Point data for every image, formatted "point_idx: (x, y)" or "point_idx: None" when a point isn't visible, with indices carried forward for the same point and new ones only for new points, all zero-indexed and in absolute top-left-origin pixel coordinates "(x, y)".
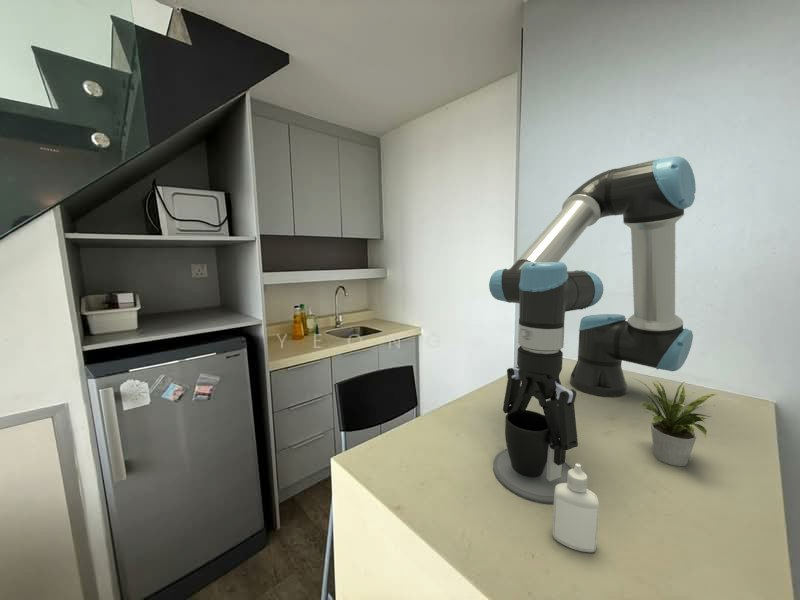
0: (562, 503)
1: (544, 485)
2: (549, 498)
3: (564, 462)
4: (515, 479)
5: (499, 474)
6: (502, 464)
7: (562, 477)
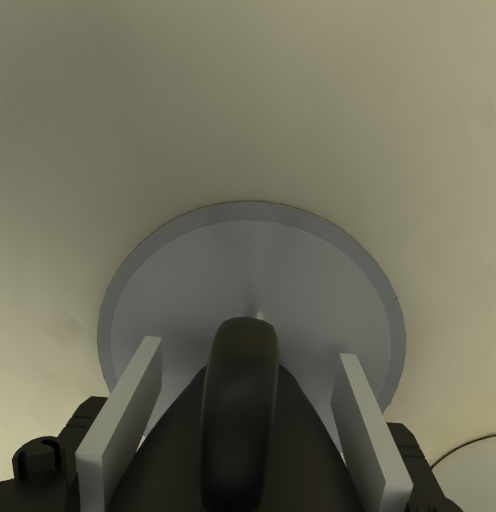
0: None
1: (324, 394)
2: None
3: (407, 430)
4: None
5: None
6: None
7: (336, 308)
